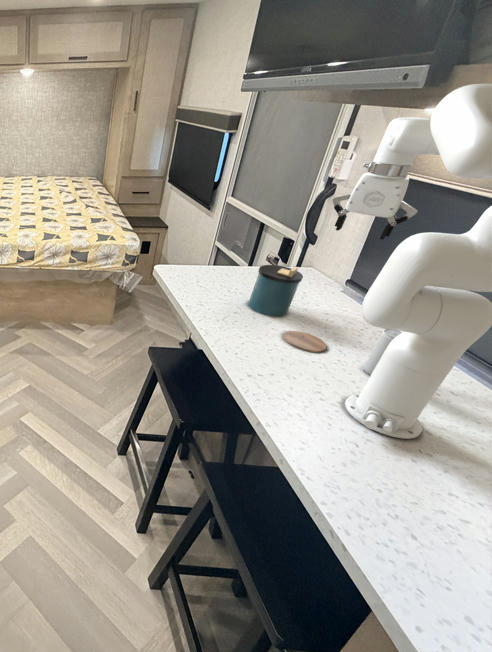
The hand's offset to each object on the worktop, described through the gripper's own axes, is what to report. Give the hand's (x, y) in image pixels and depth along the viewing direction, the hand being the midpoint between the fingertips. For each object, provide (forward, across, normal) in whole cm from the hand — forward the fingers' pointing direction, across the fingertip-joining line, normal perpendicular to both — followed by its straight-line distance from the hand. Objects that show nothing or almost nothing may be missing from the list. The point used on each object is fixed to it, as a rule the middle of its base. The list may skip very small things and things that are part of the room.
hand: (359, 233), depth 110 cm
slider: (+16, -12, -2) cm, 20 cm away
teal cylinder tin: (+29, -14, -2) cm, 32 cm away
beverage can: (+29, +17, -19) cm, 38 cm away
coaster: (+29, +1, -16) cm, 33 cm away
